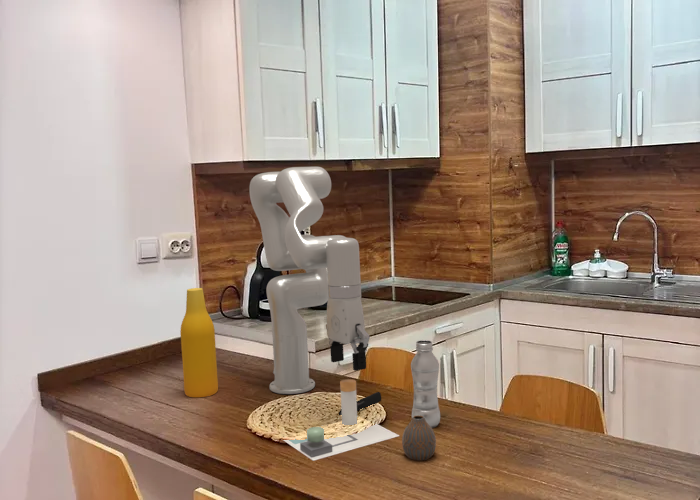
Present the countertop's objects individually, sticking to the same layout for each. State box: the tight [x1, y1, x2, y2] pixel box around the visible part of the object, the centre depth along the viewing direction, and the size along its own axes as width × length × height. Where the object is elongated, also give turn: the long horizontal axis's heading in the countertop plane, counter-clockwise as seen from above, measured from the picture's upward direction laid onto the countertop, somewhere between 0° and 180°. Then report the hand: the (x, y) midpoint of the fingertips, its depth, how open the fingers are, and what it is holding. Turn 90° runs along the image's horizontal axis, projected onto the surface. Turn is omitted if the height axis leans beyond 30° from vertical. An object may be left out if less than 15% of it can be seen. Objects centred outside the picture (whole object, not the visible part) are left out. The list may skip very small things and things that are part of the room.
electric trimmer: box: [338, 391, 382, 416], centre depth 176 cm, size 4×15×3 cm, turn 142°
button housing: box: [300, 440, 332, 457], centre depth 150 cm, size 5×5×2 cm
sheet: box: [282, 423, 400, 462], centre depth 158 cm, size 16×22×1 cm
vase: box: [401, 415, 437, 461], centre depth 145 cm, size 7×7×9 cm
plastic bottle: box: [410, 339, 441, 429], centre depth 162 cm, size 6×7×20 cm
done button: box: [306, 426, 324, 442], centre depth 150 cm, size 4×4×2 cm
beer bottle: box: [179, 287, 219, 399], centre depth 193 cm, size 9×9×29 cm
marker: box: [339, 378, 358, 425], centre depth 164 cm, size 4×4×10 cm
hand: (348, 365), depth 163 cm, fingers open, 9 cm apart
